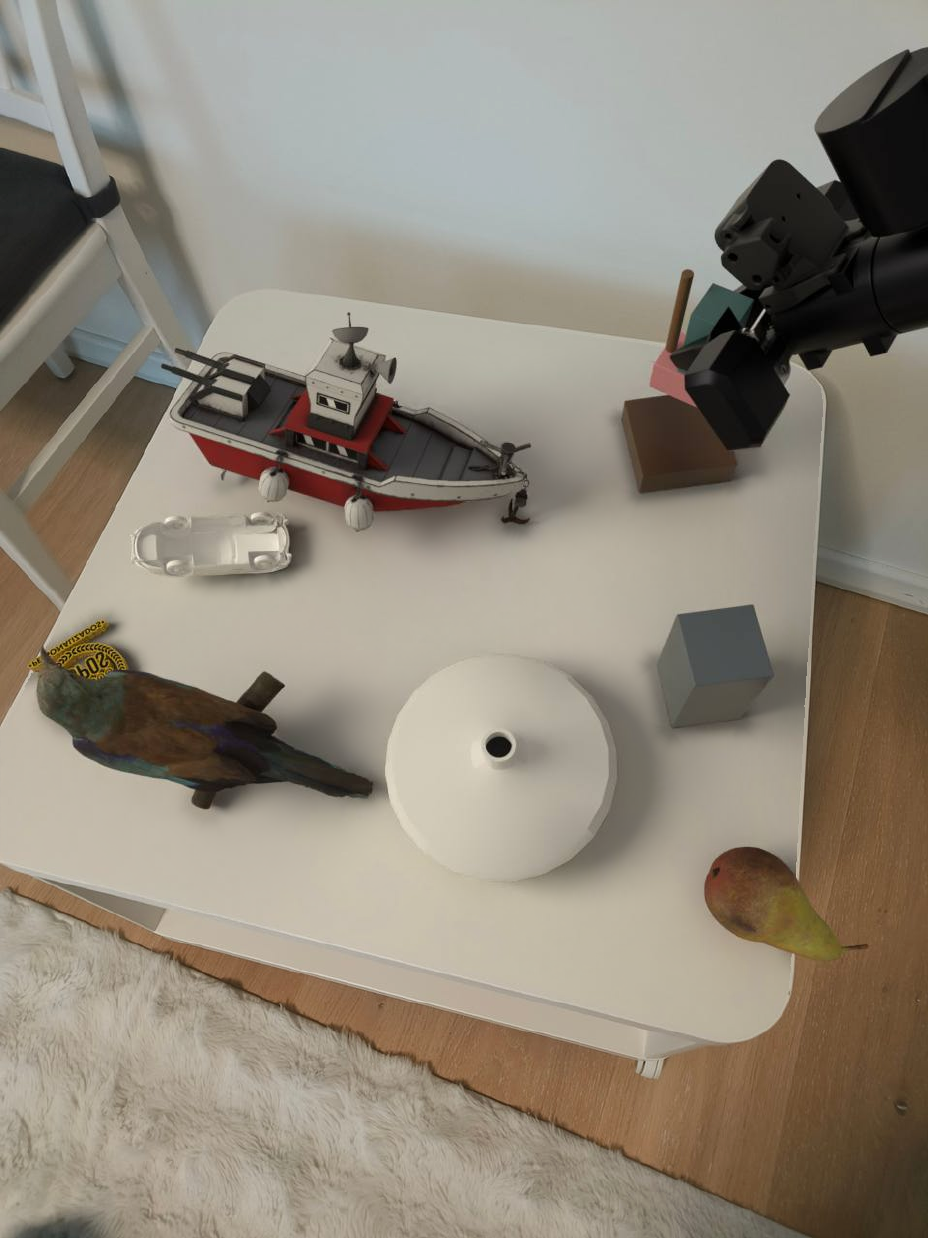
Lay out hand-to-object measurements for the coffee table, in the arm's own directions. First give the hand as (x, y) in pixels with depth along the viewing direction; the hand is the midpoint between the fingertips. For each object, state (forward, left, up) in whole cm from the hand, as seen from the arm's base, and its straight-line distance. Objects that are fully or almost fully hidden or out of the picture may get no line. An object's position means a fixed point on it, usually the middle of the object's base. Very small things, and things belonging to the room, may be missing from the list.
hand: (685, 343), depth 60 cm
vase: (+17, +26, -12) cm, 33 cm away
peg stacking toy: (-1, +1, -4) cm, 4 cm away
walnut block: (-1, +1, -12) cm, 12 cm away
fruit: (+5, +35, -8) cm, 36 cm away
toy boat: (+25, 0, -12) cm, 28 cm away
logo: (+49, +11, -11) cm, 52 cm away
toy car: (+37, +6, -8) cm, 38 cm away
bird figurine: (+36, +22, -12) cm, 43 cm away
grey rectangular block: (+2, +22, -12) cm, 25 cm away
